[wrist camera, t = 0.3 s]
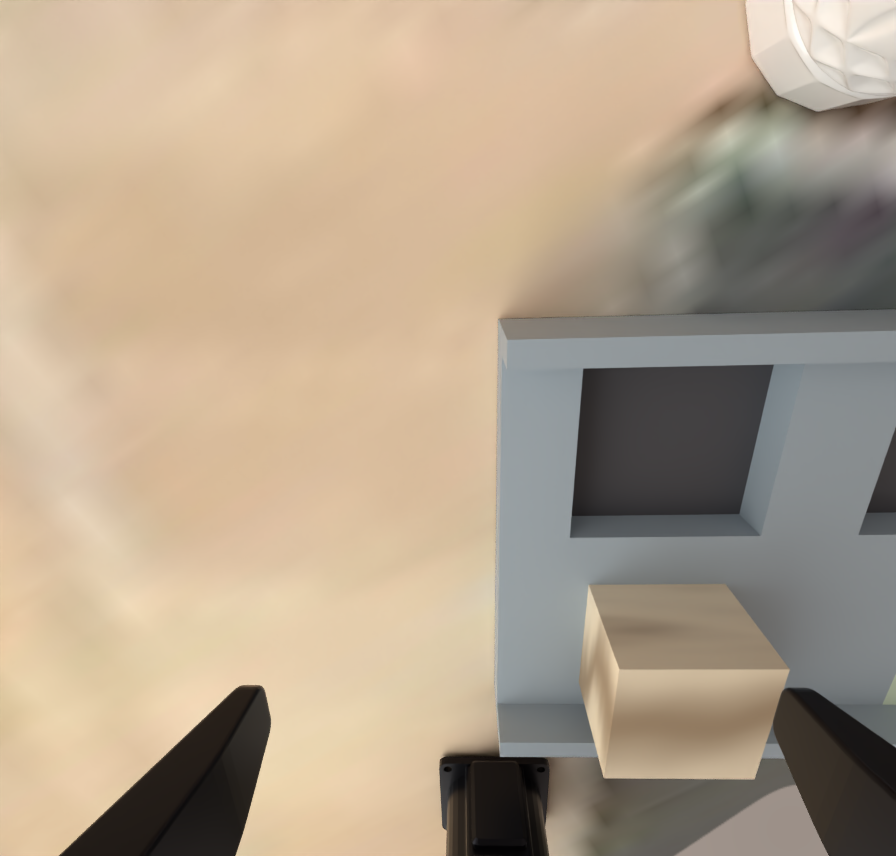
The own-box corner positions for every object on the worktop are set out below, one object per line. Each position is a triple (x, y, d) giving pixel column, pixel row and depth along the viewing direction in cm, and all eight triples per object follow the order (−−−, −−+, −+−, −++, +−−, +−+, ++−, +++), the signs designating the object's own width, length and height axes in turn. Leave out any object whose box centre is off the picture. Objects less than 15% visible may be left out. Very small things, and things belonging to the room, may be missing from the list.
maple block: (702, 682, 24) (754, 779, 19) (578, 682, 24) (604, 778, 20) (725, 583, 21) (789, 669, 17) (588, 584, 21) (619, 669, 17)
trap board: (1019, 684, 26) (1141, 783, 21) (494, 683, 27) (501, 778, 22) (1240, 300, 18) (1506, 323, 14) (498, 319, 19) (510, 346, 15)
